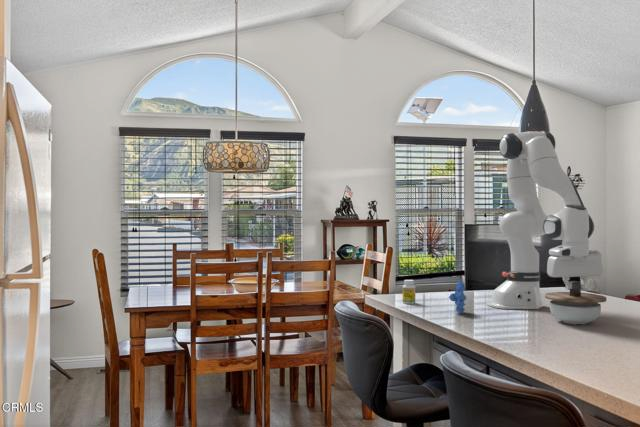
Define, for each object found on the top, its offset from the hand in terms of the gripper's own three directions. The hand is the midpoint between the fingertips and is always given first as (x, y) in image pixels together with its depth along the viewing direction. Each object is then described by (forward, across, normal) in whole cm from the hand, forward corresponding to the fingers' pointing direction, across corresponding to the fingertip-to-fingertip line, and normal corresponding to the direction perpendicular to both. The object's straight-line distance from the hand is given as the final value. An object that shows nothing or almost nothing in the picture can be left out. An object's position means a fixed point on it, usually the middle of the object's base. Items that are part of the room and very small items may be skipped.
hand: (574, 289), depth 212 cm
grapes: (+12, +33, -25) cm, 43 cm away
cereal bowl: (+12, 0, 0) cm, 12 cm away
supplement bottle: (+12, +43, -51) cm, 68 cm away
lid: (+3, 0, 0) cm, 3 cm away
